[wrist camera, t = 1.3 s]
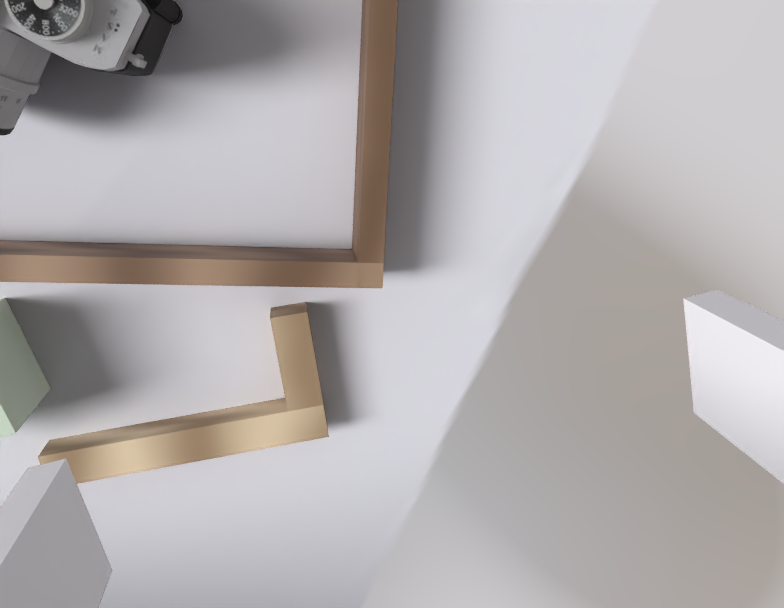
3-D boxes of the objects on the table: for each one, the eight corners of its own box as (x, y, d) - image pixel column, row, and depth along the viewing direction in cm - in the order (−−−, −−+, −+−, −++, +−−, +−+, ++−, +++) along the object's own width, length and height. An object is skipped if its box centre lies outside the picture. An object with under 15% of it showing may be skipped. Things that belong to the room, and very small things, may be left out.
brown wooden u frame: (-127, 262, 32) (-166, 278, 30) (-213, -325, 26) (-273, -376, 24) (374, 273, 36) (382, 288, 33) (400, -241, 30) (413, -277, 27)
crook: (59, 470, 37) (48, 488, 35) (21, 348, 35) (8, 361, 33) (326, 421, 38) (328, 436, 36) (306, 301, 36) (307, 312, 34)
